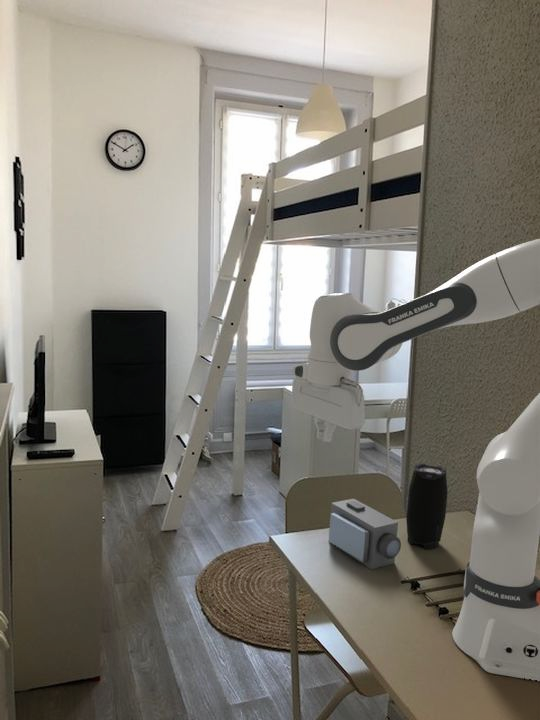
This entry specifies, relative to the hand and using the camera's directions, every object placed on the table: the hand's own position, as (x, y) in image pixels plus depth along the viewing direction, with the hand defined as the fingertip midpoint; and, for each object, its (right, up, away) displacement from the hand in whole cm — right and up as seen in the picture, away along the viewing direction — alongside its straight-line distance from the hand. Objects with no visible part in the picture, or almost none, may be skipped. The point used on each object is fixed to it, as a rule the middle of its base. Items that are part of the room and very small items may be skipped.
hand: (324, 440), depth 125 cm
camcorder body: (+11, -30, +21) cm, 38 cm away
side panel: (+7, -29, +19) cm, 35 cm away
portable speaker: (+28, -30, +29) cm, 50 cm away
